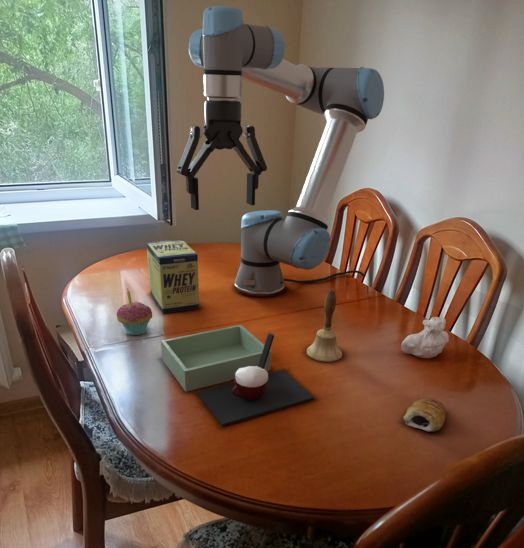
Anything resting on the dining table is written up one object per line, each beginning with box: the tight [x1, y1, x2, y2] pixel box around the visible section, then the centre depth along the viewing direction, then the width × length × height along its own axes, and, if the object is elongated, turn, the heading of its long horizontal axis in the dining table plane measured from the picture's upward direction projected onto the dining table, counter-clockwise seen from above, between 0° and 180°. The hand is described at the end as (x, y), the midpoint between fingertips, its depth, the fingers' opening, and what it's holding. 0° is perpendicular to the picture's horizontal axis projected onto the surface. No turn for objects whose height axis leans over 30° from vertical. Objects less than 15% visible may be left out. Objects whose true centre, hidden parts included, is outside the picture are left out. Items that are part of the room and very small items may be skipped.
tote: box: [160, 324, 272, 393], centre depth 108 cm, size 20×15×5 cm
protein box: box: [145, 239, 200, 315], centre depth 136 cm, size 10×16×16 cm
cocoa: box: [232, 332, 275, 400], centre depth 95 cm, size 10×6×12 cm, turn 111°
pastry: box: [403, 397, 447, 433], centre depth 93 cm, size 9×7×4 cm
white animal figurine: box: [400, 316, 450, 359], centre depth 113 cm, size 12×8×11 cm
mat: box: [196, 369, 315, 427], centre depth 98 cm, size 20×12×1 cm, turn 119°
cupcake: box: [116, 288, 153, 336], centre depth 120 cm, size 9×8×12 cm
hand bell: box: [306, 288, 343, 363], centre depth 111 cm, size 8×8×16 cm
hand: (223, 206), depth 110 cm, fingers open, 13 cm apart
